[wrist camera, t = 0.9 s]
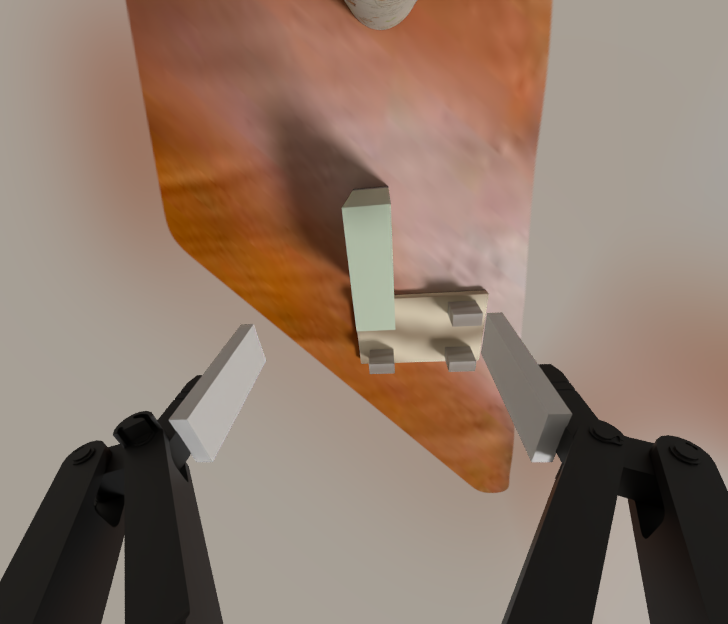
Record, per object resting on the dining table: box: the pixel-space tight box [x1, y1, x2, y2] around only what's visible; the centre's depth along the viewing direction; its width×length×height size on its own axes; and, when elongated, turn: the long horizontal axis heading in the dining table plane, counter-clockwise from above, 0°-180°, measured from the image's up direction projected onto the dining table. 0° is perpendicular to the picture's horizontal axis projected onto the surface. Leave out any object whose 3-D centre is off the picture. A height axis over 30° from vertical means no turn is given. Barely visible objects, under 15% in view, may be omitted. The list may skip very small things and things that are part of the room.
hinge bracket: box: [357, 290, 489, 374], centre depth 36 cm, size 10×16×4 cm, turn 95°
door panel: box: [342, 186, 395, 331], centre depth 28 cm, size 4×11×10 cm, turn 5°
